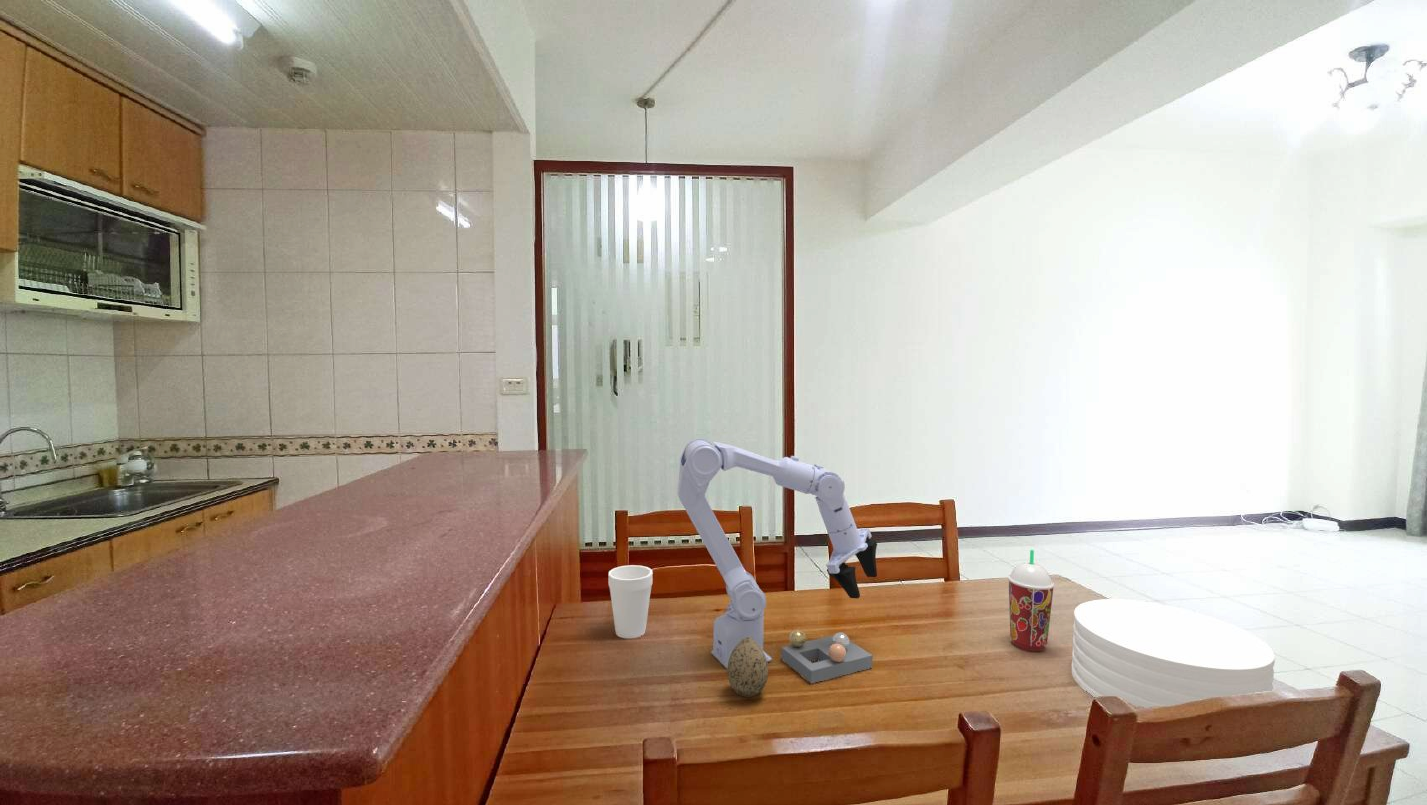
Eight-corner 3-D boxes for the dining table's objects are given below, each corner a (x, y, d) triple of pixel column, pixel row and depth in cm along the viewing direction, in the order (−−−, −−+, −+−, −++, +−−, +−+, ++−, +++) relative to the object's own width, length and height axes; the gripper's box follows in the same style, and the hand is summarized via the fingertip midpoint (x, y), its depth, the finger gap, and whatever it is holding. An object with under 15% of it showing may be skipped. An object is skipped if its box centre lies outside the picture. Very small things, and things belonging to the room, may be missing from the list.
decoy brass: (795, 651, 114) (795, 635, 114) (786, 644, 117) (786, 628, 117) (808, 648, 116) (809, 632, 115) (799, 641, 118) (800, 625, 118)
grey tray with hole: (811, 684, 107) (811, 670, 107) (781, 659, 116) (781, 647, 116) (872, 668, 113) (872, 655, 113) (839, 645, 122) (839, 634, 122)
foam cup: (656, 623, 132) (656, 566, 131) (647, 642, 123) (648, 581, 122) (614, 621, 133) (614, 564, 132) (602, 640, 124) (602, 579, 123)
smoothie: (1057, 657, 118) (1061, 558, 117) (1012, 652, 120) (1016, 555, 119) (1043, 638, 126) (1047, 545, 125) (1001, 634, 128) (1004, 543, 127)
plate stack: (1175, 654, 120) (1178, 598, 120) (1321, 740, 92) (1326, 668, 92) (1040, 655, 120) (1042, 599, 119) (1146, 742, 92) (1150, 669, 91)
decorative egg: (718, 695, 103) (719, 638, 103) (743, 679, 109) (744, 625, 108) (751, 710, 99) (752, 652, 98) (776, 693, 104) (776, 637, 104)
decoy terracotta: (835, 666, 108) (835, 649, 108) (825, 659, 111) (825, 642, 111) (849, 663, 110) (850, 646, 110) (838, 655, 113) (839, 639, 113)
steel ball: (839, 654, 113) (839, 638, 113) (829, 647, 116) (829, 631, 116) (852, 651, 115) (853, 635, 114) (842, 644, 117) (842, 628, 117)
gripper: (839, 543, 111) (864, 608, 112) (874, 508, 121) (896, 567, 122) (809, 544, 116) (833, 606, 117) (845, 510, 126) (867, 567, 127)
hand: (863, 586), depth 120 cm, fingers open, 7 cm apart
